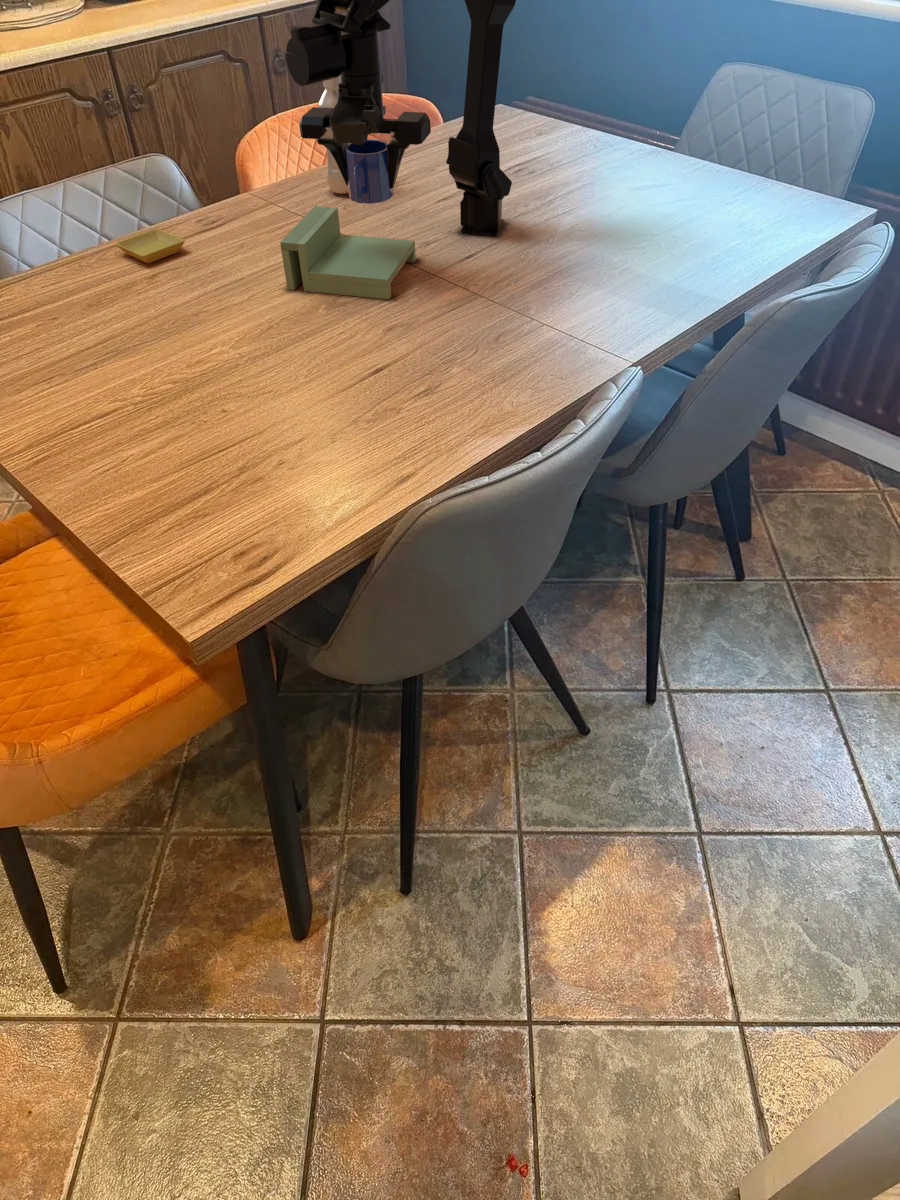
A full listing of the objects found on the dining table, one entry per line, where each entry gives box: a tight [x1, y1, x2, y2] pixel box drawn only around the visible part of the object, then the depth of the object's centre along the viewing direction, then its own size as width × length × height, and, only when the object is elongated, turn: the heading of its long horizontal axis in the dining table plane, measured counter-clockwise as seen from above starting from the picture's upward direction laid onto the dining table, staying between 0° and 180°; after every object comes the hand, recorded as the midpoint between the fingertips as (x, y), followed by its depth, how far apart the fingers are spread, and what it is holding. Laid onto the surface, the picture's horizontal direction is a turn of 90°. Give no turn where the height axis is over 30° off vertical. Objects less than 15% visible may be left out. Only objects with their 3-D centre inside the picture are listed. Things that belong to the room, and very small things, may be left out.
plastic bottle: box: [317, 76, 349, 195], centre depth 159 cm, size 6×7×20 cm
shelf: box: [279, 205, 417, 300], centre depth 137 cm, size 17×15×8 cm
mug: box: [344, 139, 394, 205], centre depth 130 cm, size 7×9×7 cm
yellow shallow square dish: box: [115, 228, 186, 264], centre depth 147 cm, size 9×9×2 cm
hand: (370, 186), depth 133 cm, fingers closed on mug, 7 cm apart
